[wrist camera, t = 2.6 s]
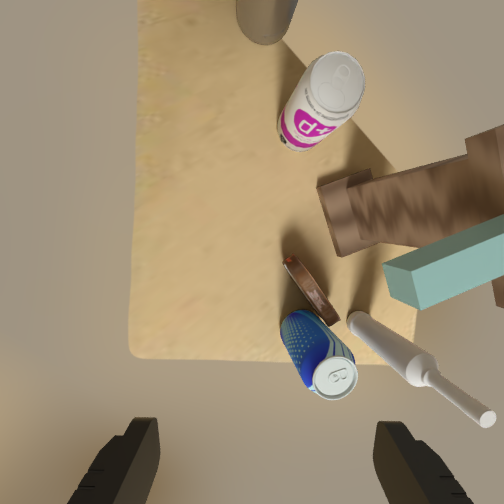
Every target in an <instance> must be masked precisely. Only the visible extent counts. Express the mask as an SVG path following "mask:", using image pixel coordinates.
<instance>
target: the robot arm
mask: <svg viewBox="0 0 504 504" xmlns="http://www.w3.org/2000/svg"><path fill="white" fill-rule="evenodd" d="M297 2H298V0H237V7H236V14H237V20H238V23H239V26H240V28H241V30H242V31H243V33H244V34H245V35H246V36H247V37H248V38H249V39H250V40H252V41H254V42H255V43H258V44H262V45H269V44H273V43H275V42H278V41H279V40H280V39H281V38H282V37H283V36H284V35H285V33H286V32H287V30H288V28H289V24H290V22H291V19H292V16H293V13H294V10H295V8H296V5H297ZM159 459H160V443H159V432H158V423H157V419H156V418H148V417H147V418H146V417H135V418H134V419H133V420H132V421H131V423H130V424H129V426H128V428H127V430H126V431H125V433H124V435H123V436H116V435H115V436H114V437H113V438H112V439H111V440H110V441H109V442H108V443H107V444H106V445H105V446H104V447H103V448H102V449H101V450H100V451H99V453H98V454H97V456H96V458H95V459H94V461H93V463H92V464H91V466H90V467H89V469H88V473H86V474H85V475H84V477H83V479H82V480H81V482H80V484H79V485H78V489H77V490H75V492H74V493H73V495H72V497H71V498H70V500H69V501H68V503H67V504H145V503H146V500H147V497H148V495H149V492H150V489H151V486H152V483H153V481H154V478H155V475H156V472H157V469H158V465H159ZM373 462H374V467H375V471H376V474H377V476H378V479H379V481H380V483H381V486H382V488H383V490H384V492H385V495H386V497H387V499H388V502H389V504H474V503H473V502H472V500H471V499H470V498H468V497H467V495H466V492H465V491H464V490H463V488H462V487H461V485H460V484H459V483H458V481H457V480H455V478H454V476H453V475H452V473H451V471H450V470H449V469H448V467H447V466H446V465H445V463H444V462H443V460H442V459H441V458H440V456H439V455H438V454H436V453H435V452H434V451H433V450H432V449H431V448H430V447H429V446H428V445H427V444H426V443H424V442H423V441H422V440H418V441H417V440H415V439H414V438H413V436H412V435H411V433H410V432H409V430H408V429H407V427H406V426H405V425H404V424H403V423H402V422H400V421H379V422H378V423H377V428H376V435H375V442H374V449H373Z"/></svg>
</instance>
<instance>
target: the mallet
mask: <svg viewBox="0 0 504 504" xmlns="http://www.w3.org/2000/svg"><path fill="white" fill-rule="evenodd" d="M382 266H383V270H384V274H385V277H386V281H387V285H388V288H389V292H390V296H391V297H392V298H394V299H397V300H399V301H401V302H403V303H405V304H408V305H410V306H412V307H414V308H416V309H419V310H423V309H425V308H427V307H430V306H432V305H435V304H437V303H439V302H442V301H444V300H446V299H449V298H451V297H453V296H456V295H458V294H460V293H463V292H465V291H467V290H470V289H472V288H474V287H477V286H479V285H481V284H484V283H486V282H488V281H491V280H493V279H496V278H498V277H500V276H503V275H504V214H503V215H500V216H498V217H495V218H493V219H490V220H488V221H485V222H483V223H480V224H478V225H476V226H473V227H471V228H468V229H466V230H463V231H461V232H458V233H456V234H453V235H451V236H449V237H446V238H444V239H441V240H439V241H436V242H434V243H431V244H429V245H426V246H424V247H421V248H419V249H417V250H414V251H412V252H409V253H407V254H404V255H402V256H399V257H397V258H394V259H392V260H389V261H387V262H385V263H382Z"/></svg>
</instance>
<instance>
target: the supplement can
mask: <svg viewBox="0 0 504 504" xmlns="http://www.w3.org/2000/svg"><path fill="white" fill-rule="evenodd" d="M364 90H365V76H364V73H363V69H362V67H361V66H360V65H359V63H358V61H357V60H356V59H355V58H354V57H352V56H351V55H350V54H348V53H345V52H341V51H334V52H329V53H327V54H325V55H322V56H320V57H319V58H317V59H316V60H314V61H312V62H311V64H310V65H309V66H308V68H307V69H306V70H305V72H304V74H303V75H302V77H301V79H300V81H299V82H298V84H297V86H296V88H295V90H294V91H293V93H292V95H291V97H290V98H289V100H288V102H287V104H286V105H285V107H284V109H283V111H282V113H281V114H280V117H279V120H278V123H277V129H278V135H279V137H280V140H281V141H282V143H283V144H284V145H285V146H286V147H287V148H289V149H290V150H292V151H297V152H303V151H308V150H309V149H311V148H312V147H314V146H315V145H316V144H318V143H319V142H320V141H322V140H323V139H324V138H325V137H327V136H328V135H329V134H330V133H332V132H333V131H334V130H336V129H337V128H338V127H339V126H341V125H342V124H343V123H344V122H346V121H347V120H348V119H349V118H351V117H352V116H353V114H354V113H355V112H356V110H357V109H358V108H359V105H360V102H361V99H362V96H363V93H364Z"/></svg>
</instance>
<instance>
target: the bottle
mask: <svg viewBox="0 0 504 504" xmlns="http://www.w3.org/2000/svg"><path fill="white" fill-rule="evenodd" d="M347 326H348V329H349V330H350V331H351V332H352V334H354V335H355V336H357V337H359V338H360V339H361V340H362V341H363V342H365V343H366V344H367V345H368V346H369V347H370V348H371V349H372V350H373V351H374V352H376V353H377V354H378V355H379V356H380V357H381V358H382V359H383V360H384V361H386V362H387V363H388V364H389V365H390V366H391V367H392V368H393V369H394V370H396V371H397V372H398V373H399V374H400V375H401V376H402V377H403V378H404V379H406V380H407V381H408V382H409V383H410V384H411V385H414V386H416V387H420V386H421V387H422V386H429V387H433V388H434V389H436V390H437V391H438V392H439V393H441V394H442V395H443V396H445V397H446V398H447V399H448V400H450V401H451V402H452V403H453V404H455V405H456V406H457V407H458V408H460V409H461V410H462V411H463V412H464V413H465V414H466V415H468V416H469V417H470V418H471V419H473V420H474V421H475V422H477V423H478V424H479V425H480V426H482V427H484V428H488V427H490V426H492V425H493V424H494V422H495V421H496V414H495V413H494V412H493V411H492V410H490V409H489V408H488V407H486V406H485V405H483V404H482V403H480V402H479V401H477V400H476V399H474V398H473V397H471V396H470V395H468V394H467V393H466V392H464V391H463V390H461V389H460V388H459V387H457V386H456V385H454V384H453V383H451V382H450V381H449V380H447V379H446V378H444V377H443V376H442V375H441V373H440V371H439V370H438V368H439V367H438V362H437V360H436V358H435V357H434V356H433V355H431V354H429V353H428V352H426V351H425V350H423V349H421V348H420V347H418V346H417V345H415V344H413V343H412V342H410V341H408V340H407V339H405V338H404V337H402V336H400V335H399V334H397V333H395V332H394V331H392V330H391V329H389V328H387V327H386V326H384V325H382V324H381V323H379V322H378V321H376V320H374V319H373V318H372V317H371V316H370V315H369V314H367V313H365V312H363V311H355V312H353V313H351V314H350V315H349V317H348V319H347Z"/></svg>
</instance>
